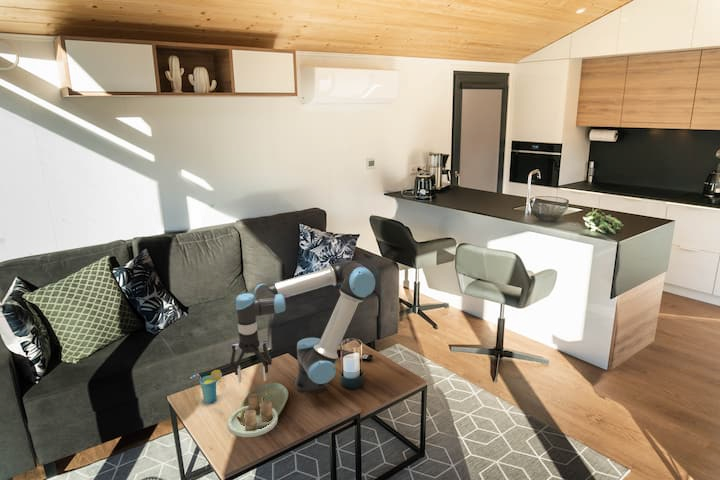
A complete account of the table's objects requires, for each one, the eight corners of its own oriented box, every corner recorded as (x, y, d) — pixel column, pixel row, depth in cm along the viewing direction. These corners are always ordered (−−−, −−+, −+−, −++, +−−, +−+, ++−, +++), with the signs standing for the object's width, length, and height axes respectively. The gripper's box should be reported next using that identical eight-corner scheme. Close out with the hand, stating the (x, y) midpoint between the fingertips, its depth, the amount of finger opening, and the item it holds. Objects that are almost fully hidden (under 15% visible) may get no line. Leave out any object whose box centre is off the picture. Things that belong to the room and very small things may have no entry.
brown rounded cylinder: (273, 417, 207) (272, 400, 205) (272, 423, 203) (271, 406, 201) (262, 417, 207) (260, 400, 205) (261, 424, 202) (259, 407, 200)
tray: (279, 407, 215) (278, 402, 214) (275, 436, 196) (275, 431, 195) (232, 411, 213) (232, 406, 213) (224, 440, 194) (224, 435, 193)
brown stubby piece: (259, 416, 208) (258, 399, 206) (248, 417, 207) (247, 400, 205) (260, 410, 212) (259, 393, 210) (249, 410, 212) (248, 394, 210)
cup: (196, 411, 214) (192, 379, 210) (190, 403, 220) (186, 372, 216) (226, 399, 222) (224, 369, 218) (219, 392, 228) (217, 362, 224)
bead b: (257, 426, 201) (256, 409, 199) (256, 433, 197) (255, 415, 195) (246, 427, 201) (244, 410, 199) (244, 434, 196) (243, 416, 194)
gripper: (276, 325, 205) (280, 373, 210) (221, 329, 203) (227, 377, 209) (275, 333, 198) (278, 383, 203) (218, 337, 196) (224, 387, 201)
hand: (252, 380), depth 206 cm, fingers open, 10 cm apart
